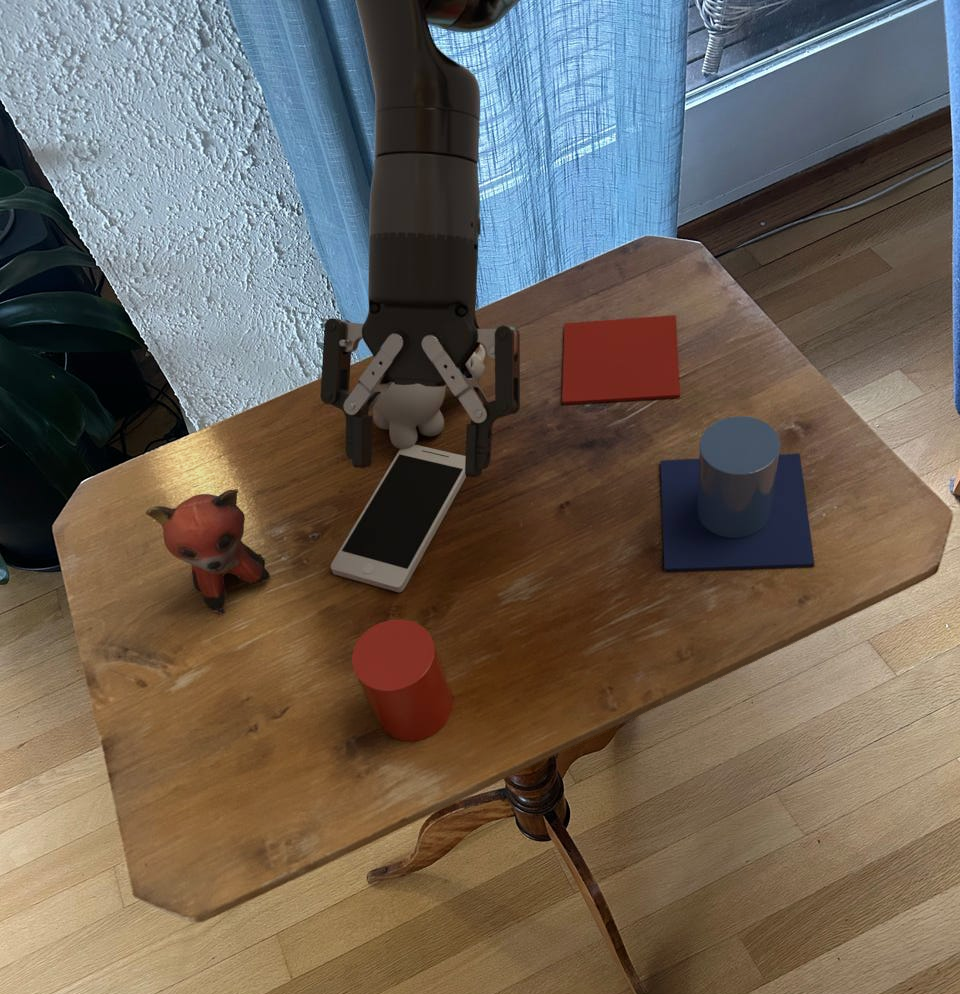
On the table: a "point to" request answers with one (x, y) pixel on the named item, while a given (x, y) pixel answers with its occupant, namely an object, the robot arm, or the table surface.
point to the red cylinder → (403, 679)
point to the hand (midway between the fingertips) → (417, 471)
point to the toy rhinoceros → (416, 407)
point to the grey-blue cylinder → (737, 476)
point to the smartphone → (401, 518)
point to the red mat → (620, 360)
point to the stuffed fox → (210, 543)
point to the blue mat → (704, 550)
